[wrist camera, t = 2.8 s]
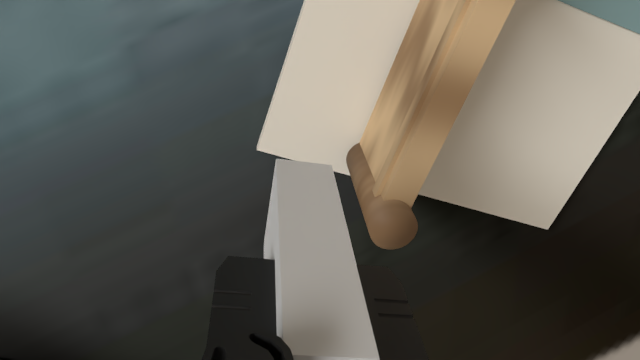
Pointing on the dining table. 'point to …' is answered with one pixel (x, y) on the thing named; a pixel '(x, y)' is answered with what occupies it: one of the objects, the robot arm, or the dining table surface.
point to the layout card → (469, 98)
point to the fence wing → (420, 109)
